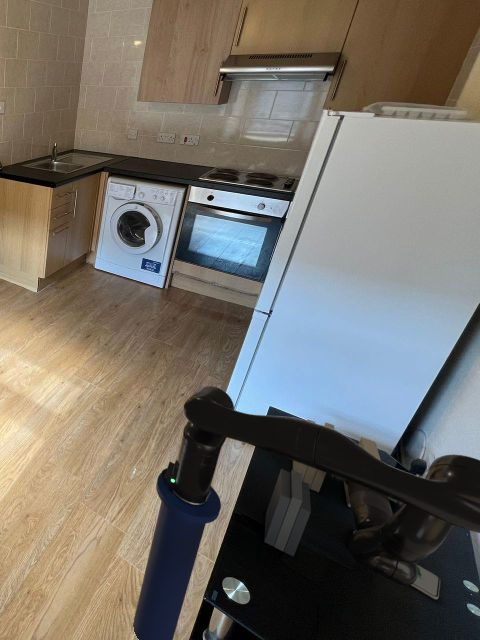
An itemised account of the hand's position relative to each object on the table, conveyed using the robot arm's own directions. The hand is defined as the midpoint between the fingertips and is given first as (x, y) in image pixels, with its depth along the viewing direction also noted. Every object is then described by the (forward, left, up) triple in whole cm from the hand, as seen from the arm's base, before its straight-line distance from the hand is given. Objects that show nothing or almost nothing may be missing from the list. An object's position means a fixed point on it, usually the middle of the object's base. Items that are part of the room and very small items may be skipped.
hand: (361, 465), depth 114 cm
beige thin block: (0, -2, -9) cm, 10 cm away
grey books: (-16, -30, -9) cm, 35 cm away
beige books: (-10, -2, -9) cm, 14 cm away
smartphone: (+6, -22, -9) cm, 24 cm away
